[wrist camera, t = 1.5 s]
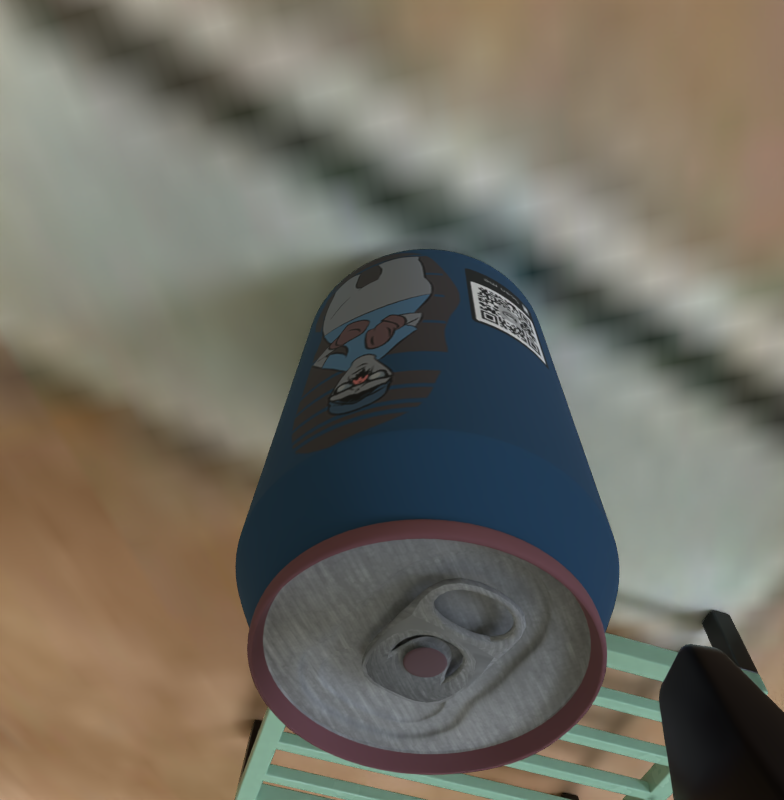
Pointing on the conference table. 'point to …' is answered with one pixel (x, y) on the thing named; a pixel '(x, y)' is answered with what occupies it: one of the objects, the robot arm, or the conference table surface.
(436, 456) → the soda can
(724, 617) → the rack
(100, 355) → the conference table surface
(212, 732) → the conference table surface
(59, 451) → the conference table surface
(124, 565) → the conference table surface
